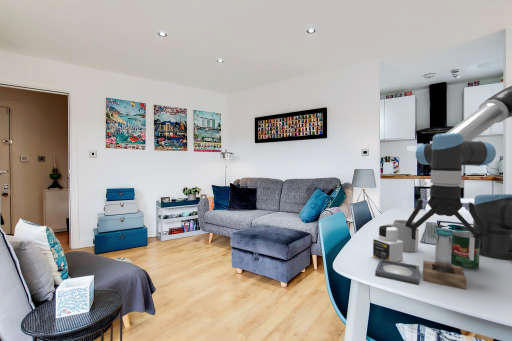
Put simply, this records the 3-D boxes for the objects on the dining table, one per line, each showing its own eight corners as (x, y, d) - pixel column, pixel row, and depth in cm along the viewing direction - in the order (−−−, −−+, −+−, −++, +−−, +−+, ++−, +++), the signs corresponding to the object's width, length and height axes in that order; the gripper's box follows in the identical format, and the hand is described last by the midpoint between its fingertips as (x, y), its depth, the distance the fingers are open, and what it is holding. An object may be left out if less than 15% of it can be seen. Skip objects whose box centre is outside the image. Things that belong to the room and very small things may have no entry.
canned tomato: (472, 262, 93) (473, 232, 93) (484, 271, 86) (485, 238, 85) (446, 260, 95) (446, 230, 95) (455, 268, 88) (456, 236, 88)
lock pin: (451, 277, 81) (452, 229, 81) (452, 283, 78) (454, 232, 77) (433, 273, 84) (434, 227, 83) (433, 279, 80) (435, 230, 79)
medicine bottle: (372, 256, 99) (373, 225, 98) (386, 254, 101) (387, 223, 101) (388, 263, 92) (389, 229, 92) (403, 260, 95) (403, 227, 94)
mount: (460, 276, 82) (461, 266, 82) (465, 289, 74) (466, 278, 74) (423, 269, 88) (423, 260, 87) (423, 280, 79) (423, 270, 79)
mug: (417, 247, 109) (417, 221, 109) (416, 253, 102) (416, 225, 101) (385, 242, 116) (385, 218, 115) (382, 248, 108) (382, 221, 108)
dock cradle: (418, 270, 86) (418, 265, 86) (418, 284, 76) (418, 279, 76) (380, 263, 92) (380, 258, 92) (375, 275, 83) (375, 270, 83)
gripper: (497, 186, 76) (493, 258, 77) (399, 181, 89) (397, 243, 90) (504, 188, 70) (500, 267, 71) (397, 183, 83) (395, 249, 84)
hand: (442, 254), depth 80 cm, fingers open, 13 cm apart
